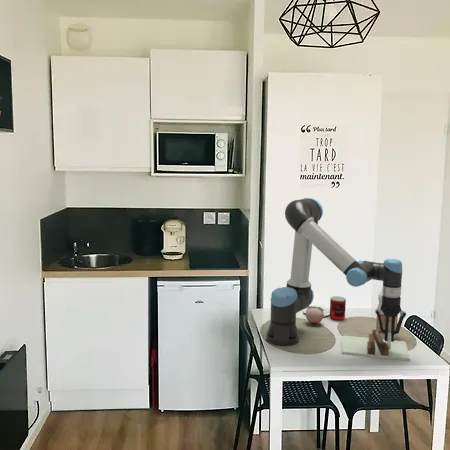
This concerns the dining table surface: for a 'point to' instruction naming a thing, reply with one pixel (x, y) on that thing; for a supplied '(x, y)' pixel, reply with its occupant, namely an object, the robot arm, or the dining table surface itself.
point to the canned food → (337, 308)
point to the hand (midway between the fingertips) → (388, 348)
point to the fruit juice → (378, 330)
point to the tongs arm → (381, 345)
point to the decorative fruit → (314, 314)
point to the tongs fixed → (371, 343)
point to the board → (360, 348)
